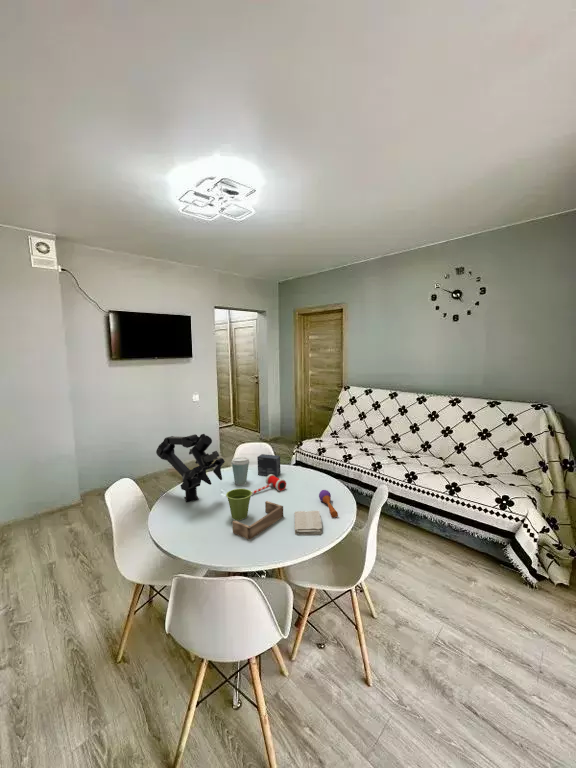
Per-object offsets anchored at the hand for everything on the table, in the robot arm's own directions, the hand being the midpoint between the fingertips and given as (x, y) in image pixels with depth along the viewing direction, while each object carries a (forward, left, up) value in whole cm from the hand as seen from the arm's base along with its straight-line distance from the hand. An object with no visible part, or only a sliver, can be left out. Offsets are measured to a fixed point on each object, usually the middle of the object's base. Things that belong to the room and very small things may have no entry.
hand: (216, 482), depth 158 cm
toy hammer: (-8, +30, -14) cm, 34 cm away
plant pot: (+13, +7, -14) cm, 20 cm away
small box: (-29, +41, -14) cm, 52 cm away
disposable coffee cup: (-25, +21, -14) cm, 35 cm away
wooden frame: (+24, +12, -13) cm, 30 cm away
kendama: (+26, +48, -14) cm, 56 cm away
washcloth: (+34, +31, -14) cm, 48 cm away
